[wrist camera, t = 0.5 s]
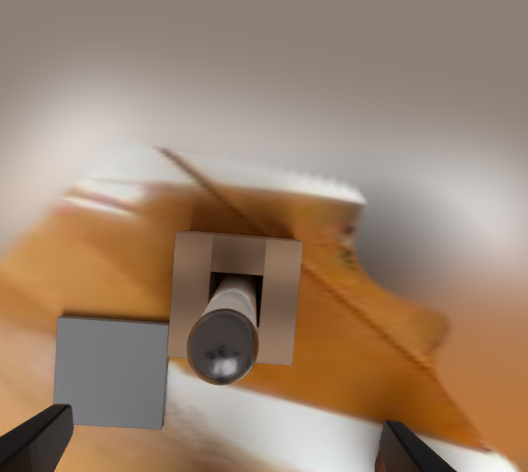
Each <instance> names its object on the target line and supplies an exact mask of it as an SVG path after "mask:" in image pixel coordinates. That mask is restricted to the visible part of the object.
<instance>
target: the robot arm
mask: <svg viewBox="0 0 528 472" xmlns="http://www.w3.org/2000/svg"><path fill="white" fill-rule="evenodd" d="M73 430H74V423H73V412H72V406H71V405H70V404H58V403H57V404H54V405H52V406H50V407H48V408H47V409H45V410H43V411H42V412H40V413H39V414H37V415H35V416H34V417H32V418H30V419H29V420H27V421H26V422H24V423H22V424H21V425H19V426H17V427H16V428H14V429H13V430H11V431H9V432H8V433H6V434H4V435H3V436H1V437H0V472H54V470H55V468H56V466H57V464H58V462H59V460H60V459H61V457H62V455H63V453H64V451H65V449H66V447H67V445H68V443H69V441H70V439H71V437H72V434H73ZM380 452H381V456H382V459H383V463H384V466H385V470H386V472H457V471H455V470H454V469H453V468H452V467H451V466H450V465H449V464H448V463H446V462H445V461H444V460H443V459H442V458H441V457H440V456H439V455H437V454H436V453H435V452H434V451H433V450H432V449H431V448H430V447H428V446H427V445H426V444H425V443H424V442H423V441H422V440H421V439H419V438H418V437H417V436H416V435H415V434H414V433H413V432H412V431H410V430H409V429H408V428H407V427H406V426H405V425H404V424H403V423H401V422H400V421H397V420H386V421H385V422H384V424H383V428H382V433H381V438H380Z"/></svg>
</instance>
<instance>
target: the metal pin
mask: <svg viewBox="0 0 528 472" xmlns="http://www.w3.org/2000/svg"><path fill="white" fill-rule="evenodd" d="M258 351H259V338H258V334H257V326H256V284H255V281H254V279H253V277H252V276H251V275H250V274H238V273H227V274H226V275H225V276H224V278H223V279H222V281H221V283H220V284H219V286H218V288H217V290H216V291H215V293H214V295H213V297H212V299H211V300H210V302H209V304H208V306H207V307H206V309H205V311H204V313H203V314H202V316H201V318H200V319H199V320H198V321H197V322H196V323H195V324H194V326H193V327H192V329H191V331H190V334H189V336H188V340H187V357H188V361H189V364H190V366H191V368H192V370H193V371H194V372H195V373H196V375H197V376H198V377H199V378H201V379H202V380H204V381H205V382H207V383H210V384H214V385H228V384H232V383H234V382H237V381H239V380H240V379H242V378H243V377H244V376H245V375H247V374H248V372H249V371H250V370H251V369H252V367H253V366H254V364H255V361H256V359H257V356H258Z"/></svg>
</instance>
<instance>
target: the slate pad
mask: <svg viewBox="0 0 528 472" xmlns="http://www.w3.org/2000/svg"><path fill="white" fill-rule="evenodd" d="M169 324H170V323H168V322H153V321H139V320H124V319H110V318H95V317H81V316H66V315H62V316H60V317H58V325H57V344H56V364H55V383H54V402H53V405H54V404H57V403H58V404H70V405H71V406H72V412H73V423H74V425H87V426H105V427H123V428H141V429H160V430H161V429H162V427H163V425H164V411H165V396H166V382H167V368H168V357H167V352H168V338H169Z"/></svg>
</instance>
